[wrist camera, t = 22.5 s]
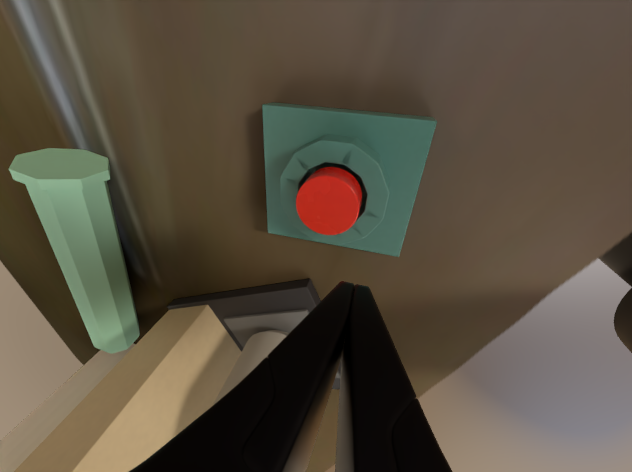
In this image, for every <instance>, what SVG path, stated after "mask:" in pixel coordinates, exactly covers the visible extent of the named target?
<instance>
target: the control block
mask: <svg viewBox="0 0 632 472" xmlns="http://www.w3.org/2000/svg"><path fill="white" fill-rule="evenodd" d="M262 111H263V134H264V156H265V179H266V202H267V225H268V233H272V234H278V235H283V236H288V237H294V238H299V239H305V240H310V241H315V242H321V243H326V244H332V245H337V246H342V247H348V248H353V249H359V250H364V251H369V252H375V253H380V254H386V255H391V256H397V257H399V255H400V251H401V248H402V244H403V240H404V237H405V233H406V230H407V226H408V223H409V219H410V216H411V212H412V209H413V205H414V202H415V198H416V195H417V191H418V187H419V184H420V180H421V177H422V173H423V170H424V166H425V163H426V159H427V156H428V152H429V149H430V145H431V142H432V138H433V134H434V131H435V127H436V124H437V121H436V120H435V119H434V118H433V117H425V116H415V115H404V114H393V113H382V112H371V111H361V110H350V109H339V108H328V107H317V106H306V105H296V104H285V103H274V102H273V103H267V104H263V105H262ZM325 167H337V168H341V169H343V170H346V171H347V172H349V173H350V174H351V175H353V176H354V178H355V179H356V180H357V181H358V183H359V185H360V188H361V192H362V202H361V206H360V210H359V214H358V217H357V220H356V222H355V223H354V224H353V226H352V227H351V228H349V229H348V230H347V231H345V232H343V233H340V234H336V235H323V234H320V233H317V232H315V231H313V230H311V229H310V228H308V227H307V226H306V225H305V224H304V223H303V222H302V220H301V219H300V217H299V215H298V212H297V209H296V196H297V193H298V191H299V189H300V187H301V186H302V185H303V184H304V182H305V181H306V180H307V179H308V178H309V176H310V175H311V174H312V173H314V172H315V171H317V170H319V169H321V168H325Z"/></svg>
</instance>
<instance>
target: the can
mask: <svg viewBox="0 0 632 472" xmlns="http://www.w3.org/2000/svg"><path fill="white" fill-rule="evenodd" d="M288 334H289V333H287V332H284V331H279V330H268V331H265V332H259V333H257V334H254V335H252V336H251V337H250V339H249V340H248V341H247V343H246V345H245V347H244V349H243V350H242V352H241V354H240V356H239V358H238V360H237V361H236V363H235V365H234V367H233V369H232V371H231V372H230V374H229V376H228V378H227V380H226V382H225V383H224V385H223V387H222V389H221V391H220V392H219V394H218V396H217V398H216V400H215V402H214V403H213V405H214V404H215V403H217V402H218V401H219V400H220V399H221V398H222V397H224V396H225V395H226V394H227V393H228V392H229V391H231V390H232V389H233V388H234V387H235V386H236V385H238V384H239V383H240V382H241V381H242V380H243V379H244V378H245V377H246V376H247V375H248V374H249V373H250V372H251V371H252V370H253V369H254V368H255V367H256V366H257V365H258V364H259V363H260V362H261V361H262V360H263V359H264V358H265V357H267V358H268V354H269V353H270V352H271V351H272V350H273V349H274V348H275V347H276V346H277V345H278V344H279V343H280V342H281V341H282V340H283V339H284V338H285V337H286V336H287V335H288ZM213 405H212V406H213Z"/></svg>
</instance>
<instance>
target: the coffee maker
mask: <svg viewBox="0 0 632 472" xmlns="http://www.w3.org/2000/svg"><path fill="white" fill-rule="evenodd" d="M320 302H321V301H320V298H319V296H318V294H317V292H316V290H315V288H314V286H313V284H312V281H311V279H304V280H298V281H291V282H285V283H278V284H272V285H265V286H259V287H252V288H246V289H239V290H232V291H226V292H219V293H213V294H206V295H200V296H193V297H187V298H180V299H174V300H173V301H172V302H171V303H170V304H169V305H168V306H167V307H168V309H169V311H168V312H167V313H166V314H165V315H164V316H163V317H162V318H161V319H160V320H159V321H158V322H157V323H156V324H155V325H154V326H153V327H152V328H151V329H150V330H149V331H148V332H147V333H146V335H145V336H144V337H143V338H142V339H141V340H140V341H139V342H138V343H137V344H136V345H135V346H134V347H133V348H132V349H131V350H130V351H129V352H128V353H127V354H126V355H125V356H124V357H123V358H122V359H121V361H120V362H119V363H118V364H117V365H116V366H115V367H114V368H113V369H112V370H111V371H110V372H109V373H108V374H107V375H106V376H105V377H104V378H103V379H102V380H101V381H100V382H99V383H98V384H97V385H96V387H95V388H94V389H93V390H92V391H91V392H90V393H89V394H88V395H87V396H86V397H85V398H84V399H83V400H82V401H81V402H80V403H79V404H78V405H77V406H76V407H75V408H74V409H73V410H72V411H71V413H70V414H69V415H68V416H67V417H66V418H65V419H64V420H63V421H62V422H61V423H60V424H59V425H58V426H57V427H56V428H55V429H54V430H53V431H52V432H51V433H50V434H49V435H48V436H47V437H46V439H45V440H44V441H43V442H42V443H41V444H40V445H39V446H38V447H37V448H36V449H35V450H34V451H33V452H32V453H31V454H30V455H29V456H28V457H27V458H26V459H25V460H24V461H23V462H22V463H21V464H20V466H19V467H18V468H17V469H16V470H15V471H14V472H129V471H130V470H132V469H133V468H135V467H136V466H138V465H139V464H141V463H142V462H143V461H145V460H146V459H147V458H149V457H150V456H151V455H153V454H154V453H155V452H156V451H158V450H159V449H160V448H161V447H163V446H164V445H165V444H166V443H167V442H169V441H170V440H171V439H172V438H174V437H175V436H176V435H177V434H179V433H180V432H181V431H182V430H183V429H185V428H186V427H187V426H188V425H190V424H191V423H192V422H193V421H194V420H196V419H197V418H198V417H199V416H201V415H202V414H203V413H204V412H206V411H207V410H208V409H209V408H210V407H212V405H213V403H214V402H215V400H216V398H217V396H218V394H219V392H220V391H221V389H222V387H223V385H224V383H225V382H226V380H227V378H228V376H229V374H230V372H231V371H232V369H233V367H234V365H235V363H236V361H237V360H238V358H239V356H240V354H241V352H242V350H243V349H244V347H245V345H246V343H247V341H248V340H249V339H250V337H251V336H252V335H254V334H257V333H259V332H265V331H268V330H279V331H284V332H287V333H290V332H291V331H292V330H293V329H294V328H295V327H296V326H297V325H298V324H299V323H300V322H301V321H302V320H303V319H304V318H305V317H306V316H307V315H308V314H309V313H310V312H311V311H312V310H313V309H314V308H315V307H316V306H317V305H318V304H319V303H320ZM342 354H343V352H342ZM341 362H342V356H341V360H340V364H339V367H338V371H337V374H336V377H335V380H334V383H333V386H332V389H340V377H341Z"/></svg>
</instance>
